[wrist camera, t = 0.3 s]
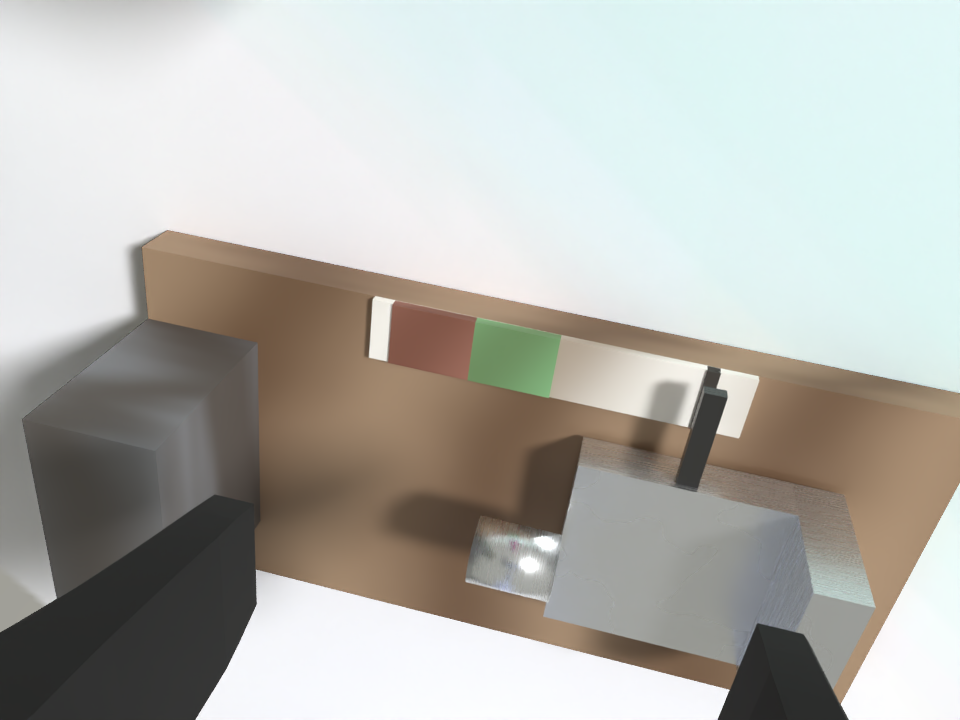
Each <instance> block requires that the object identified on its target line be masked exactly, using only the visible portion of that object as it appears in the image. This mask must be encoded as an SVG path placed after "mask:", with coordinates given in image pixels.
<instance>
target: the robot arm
mask: <svg viewBox="0 0 960 720" xmlns="http://www.w3.org/2000/svg"><path fill="white" fill-rule="evenodd" d="M256 604H257V602H256V567H255V531H254V504H253V503H249V502H245V501H240V500H236V499H232V498H228V497H223V496H219V495H213V496H211V497H210V498H208V499H207V500H205V501H204V502H202V503H201V504H199V505H198V506H196V507H195V508H193V509H192V510H190V511H189V512H187V513H186V514H184V515H183V516H182V517H180V518H179V519H177V520H176V521H174V522H173V523H171V524H170V525H169V526H167V527H166V528H164V529H163V530H161V531H160V532H158V533H157V534H155V535H154V536H153V537H151V538H150V539H148V540H147V541H145V542H144V543H142V544H141V545H139V546H138V547H136V548H135V549H134V550H132V551H131V552H129V553H128V554H126V555H125V556H123V557H122V558H120V559H118V560H117V561H115V562H114V563H112V564H111V565H109V566H108V567H106V568H105V569H103V570H102V571H100V572H99V573H97V574H96V575H94V576H93V577H91V578H90V579H88V580H86V581H85V582H83V583H82V584H80V585H79V586H77V587H76V588H74V589H72V590H71V591H69V592H68V593H66V594H64V595H63V596H61V597H59V598H58V599H56V600H54V601H53V602H51V603H49V604H48V605H46V606H44V607H43V608H41V609H39V610H38V611H36V612H34V613H33V614H31V615H29V616H28V617H26V618H24V619H23V620H21V621H20V622H18V623H16V624H14V625H12V626H11V627H9V628H7V629H6V630H4V631H2V632H0V720H195V719H196V718H197V716H198V714H199V713H200V711H201V709H202V708H203V706H204V705H205V703H206V701H207V700H208V698H209V696H210V695H211V693H212V692H213V690H214V688H215V687H216V685H217V683H218V682H219V680H220V678H221V677H222V675H223V673H224V672H225V670H226V669H227V667H228V664H229V662H230V660H231V658H232V656H233V654H234V652H235V650H236V648H237V646H238V644H239V642H240V640H241V637H242V635H243V633H244V631H245V629H246V626H247V624H248V622H249V620H250V618H251V615H252V613H253V611H254V609H255V607H256ZM718 720H848V718H847V716H846V714H845V712H844V710H843V708H842V706H841V704H840V702H839V701H838V699H837V697H836V695H835V693H834V691H833V689H832V687H831V685H830V683H829V681H828V679H827V677H826V675H825V673H824V671H823V669H822V667H821V665H820V663H819V661H818V659H817V657H816V655H815V653H814V651H813V649H812V647H811V645H810V643H809V642H808V640H807V638H806V637H805V635H804V634H802V633H797V632H793V631H789V630H785V629H780V628H776V627H772V626H768V625H764V624H759V623H757V625H756V627H755V630H754V632H753V634H752V637H751V639H750V642H749V644H748V647H747V649H746V652H745V654H744V656H743V659H742V661H741V664H740V666H739V669H738V671H737V674H736V676H735V679H734V681H733V683H732V686H731V688H730V691H729V693H728V696H727V698H726V701H725V703H724V705H723V708H722V710H721V713H720V715H719V718H718Z"/></svg>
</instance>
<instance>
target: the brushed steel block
mask: <svg viewBox="0 0 960 720" xmlns="http://www.w3.org/2000/svg"><path fill="white" fill-rule="evenodd" d="M727 399H728V394H727V391H726V390H721V389H717V388H712V387H707V386H704V387H703V390H702V394H701V397H700V400H699V403H698V406H697V410H696V413H695V416H694V419H693V422H692V426H691V429H690V432H689V435H688V439H687V442H686V445H685V448H684V451H683V455H682V458H677V457H673V456H668V455H664V454H659V453H655V452H650V451H646V450H641V449H637V448H632V447H628V446H623V445H619V444H614V443H610V442H605V441H601V440H596V439H592V438H587V437H583V440H582V445H581V449H580V453H579V458H578V462H577V466H576V471H575V475H574V479H573V484H572V488H571V492H570V497H569V501H568V505H567V509H566V514H565V518H564V522H563V527H562V531H561V534H556V533H552V532H548V531H544V530H540V529H535V528H531V527H527V526H523V525H519V524H514V523H510V522H506V521H502V520H498V519H493V518H489V517H485V516H480V519H479V521H478V525H477V528H476V531H475V535H474V539H473V543H472V547H471V551H470V556H469V561H468V566H467V572H466V582H468V583H472V584H476V585H480V586H484V587H488V588H492V589H496V590H500V591H504V592H508V593H512V594H516V595H520V596H524V597H528V598H532V599H536V600H540V601H544V602H546V604H545V609H544V615H543V617H547V618H551V619H555V620H559V621H563V622H567V623H571V624H575V625H579V626H583V627H587V628H591V629H595V630H599V631H603V632H607V633H611V634H615V635H619V636H623V637H627V638H631V639H635V640H639V641H643V642H647V643H651V644H655V645H659V646H663V647H667V648H671V649H675V650H679V651H683V652H687V653H691V654H695V655H699V656H703V657H707V658H711V659H715V660H719V661H723V662H727V663H731V664H735V665H736V672H737V671H738V669H739V666H740V664H741V661H742V659H743V656H744V654H745V652H746V649H747V647H748V644H749V642H750V639H751V637H752V634H753V632H754V630H755V627H756V625H757V623H759V624H764V625H768V626H772V627H776V628H780V629H785V630H789V631H793V632H797V633H802V634H804V635H805V637H806V638H807V640H808V642H809V643H810V645H811V647H812V649H813V651H814V653H815V655H816V657H817V659H818V661H819V663H820V665H821V667H822V669H823V671H824V673H825V675H826V677H827V679H828V681H829V683H830V685H831V687H832V689H834V687H835V685H836V683H837V681H838V679H839V677H840V675H841V673H842V671H843V669H844V668H845V666H846V664H847V662H848V660H849V658H850V656H851V654H852V652H853V650H854V648H855V647H856V645H857V643H858V641H859V639H860V637H861V635H862V633H863V631H864V629H865V627H866V625H867V624H868V622H869V620H870V618H871V616H872V614H873V612H874V610H875V608H876V607H875V603H874V600H873V596H872V593H871V589H870V585H869V582H868V578H867V575H866V571H865V567H864V564H863V560H862V557H861V553H860V549H859V546H858V542H857V538H856V535H855V531H854V528H853V524H852V520H851V517H850V513H849V510H848V506H847V502H846V499H845V495H843V494H838V493H834V492H829V491H825V490H820V489H816V488H812V487H807V486H803V485H798V484H794V483H789V482H785V481H780V480H776V479H771V478H767V477H762V476H758V475H753V474H749V473H744V472H740V471H735V470H731V469H726V468H722V467H717V466H713V465H708V464H706V462H707V459H708V456H709V453H710V450H711V447H712V444H713V441H714V438H715V435H716V432H717V429H718V426H719V423H720V420H721V417H722V414H723V411H724V408H725V405H726V402H727Z"/></svg>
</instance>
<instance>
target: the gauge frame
mask: <svg viewBox="0 0 960 720" xmlns="http://www.w3.org/2000/svg"><path fill="white" fill-rule="evenodd" d="M142 256H143V267H144V278H145V288H146V299H147V310H148V319H147V320H146V321H145V322H143V323H142V324H141V325H140V326H138V327H137V328H136V329H135V330H133V331H132V332H131V333H130V334H128V335H127V336H126V337H125V338H123V339H122V340H121V341H120V342H118V343H117V344H116V345H114V346H113V347H112V348H111V349H109V350H108V351H107V352H106V353H104V354H103V355H102V356H101V357H99V358H98V359H97V360H96V361H94V362H93V363H92V364H91V365H89V366H88V367H87V368H86V369H84V370H83V371H82V372H81V373H79V374H78V375H77V376H76V377H74V378H73V379H72V380H71V381H69V382H68V383H67V384H66V385H64V386H63V387H62V388H61V389H59V390H58V391H57V392H56V393H54V394H53V395H52V396H50V397H49V398H48V399H47V400H45V401H44V402H43V403H42V404H40V405H39V406H38V407H37V408H35V409H34V410H33V411H32V412H30V413H29V414H28V415H27V416H25V417H24V418H23V419H22V421H23V426H24V431H25V437H26V442H27V447H28V452H29V457H30V462H31V467H32V473H33V478H34V483H35V488H36V493H37V498H38V504H39V509H40V514H41V519H42V524H43V529H44V535H45V540H46V545H47V550H48V555H49V560H50V565H51V571H52V576H53V581H54V586H55V591H56V596H57V599H58V598H59V597H61V596H63V595H64V594H66V593H68V592H69V591H71V590H72V589H74V588H76V587H77V586H79V585H80V584H82V583H83V582H85V581H86V580H88V579H90V578H91V577H93V576H94V575H96V574H97V573H99V572H100V571H102V570H103V569H105V568H106V567H108V566H109V565H111V564H112V563H114V562H115V561H117V560H118V559H120V558H122V557H123V556H125V555H126V554H128V553H129V552H131V551H132V550H134V549H135V548H136V547H138V546H139V545H141V544H142V543H144V542H145V541H147V540H148V539H150V538H151V537H153V536H154V535H155V534H157V533H158V532H160V531H161V530H163V529H164V528H166V527H167V526H169V525H170V524H171V523H173V522H174V521H176V520H177V519H179V518H180V517H182V516H183V515H184V514H186V513H187V512H189V511H190V510H192V509H193V508H195V507H196V506H198V505H199V504H201V503H202V502H204V501H205V500H207V499H208V498H210V497H211V496H213V495H219V496H223V497H228V498H232V499H236V500H240V501H245V502H249V503H253V504H254V531H255V567H256V569H257V570H261V571H264V572H268V573H272V574H276V575H280V576H284V577H288V578H292V579H296V580H300V581H304V582H308V583H312V584H316V585H320V586H324V587H328V588H331V589H335V590H339V591H343V592H347V593H351V594H355V595H359V596H363V597H367V598H371V599H375V600H379V601H383V602H387V603H391V604H395V605H398V606H402V607H406V608H410V609H414V610H418V611H422V612H426V613H430V614H434V615H438V616H442V617H446V618H450V619H454V620H458V621H461V622H465V623H469V624H473V625H477V626H481V627H485V628H489V629H493V630H497V631H501V632H505V633H509V634H513V635H517V636H521V637H525V638H528V639H532V640H536V641H540V642H544V643H548V644H552V645H556V646H560V647H564V648H568V649H572V650H576V651H580V652H584V653H588V654H591V655H595V656H599V657H603V658H607V659H611V660H615V661H619V662H623V663H627V664H631V665H635V666H639V667H643V668H647V669H651V670H655V671H658V672H662V673H666V674H670V675H674V676H678V677H682V678H686V679H690V680H694V681H698V682H702V683H706V684H710V685H714V686H718V687H721V688H725V689H729V690H730V688H731V686H732V683H733V681H734V679H735V676H736V674H737V672H736V665H735V664H731V663H727V662H723V661H719V660H715V659H711V658H707V657H703V656H699V655H695V654H691V653H687V652H683V651H679V650H675V649H671V648H667V647H663V646H659V645H655V644H651V643H647V642H643V641H639V640H635V639H631V638H627V637H623V636H619V635H615V634H611V633H607V632H603V631H599V630H595V629H591V628H587V627H583V626H579V625H575V624H571V623H567V622H563V621H559V620H555V619H551V618H547V617H543V615H544V609H545V604H546V602H544V601H540V600H536V599H532V598H528V597H524V596H520V595H516V594H512V593H508V592H504V591H500V590H496V589H492V588H488V587H484V586H480V585H476V584H472V583H468V582H466V572H467V566H468V561H469V556H470V551H471V547H472V543H473V539H474V535H475V531H476V528H477V525H478V521H479V519H480V516H485V517H489V518H493V519H498V520H502V521H506V522H510V523H514V524H519V525H523V526H527V527H531V528H535V529H540V530H544V531H548V532H552V533H556V534H561V531H562V527H563V522H564V518H565V514H566V509H567V505H568V501H569V497H570V492H571V488H572V484H573V479H574V475H575V471H576V466H577V462H578V458H579V453H580V449H581V445H582V440H583V437H587V438H592V439H596V440H601V441H605V442H610V443H614V444H619V445H623V446H628V447H632V448H637V449H641V450H646V451H650V452H655V453H659V454H664V455H668V456H673V457H677V458H682V455H683V451H684V448H685V445H686V442H687V439H688V435H689V432H690V429H691V426H692V422H693V419H694V416H695V413H696V410H697V406H698V403H699V400H700V397H701V394H702V390H703V387H704V386H707V387H712V388H717V389H721V390H726V391H727V394H728V399H727V402H726V405H725V408H724V411H723V414H722V417H721V420H720V423H719V426H718V429H717V432H716V435H715V438H714V441H713V444H712V447H711V450H710V453H709V456H708V459H707V462H706V464H708V465H713V466H717V467H722V468H726V469H731V470H735V471H740V472H744V473H749V474H753V475H758V476H762V477H767V478H771V479H776V480H780V481H785V482H789V483H794V484H798V485H803V486H807V487H812V488H816V489H820V490H825V491H829V492H834V493H838V494H843V495H845V499H846V502H847V506H848V510H849V513H850V517H851V520H852V524H853V528H854V531H855V535H856V538H857V542H858V546H859V549H860V553H861V557H862V560H863V564H864V567H865V571H866V575H867V578H868V582H869V585H870V589H871V593H872V596H873V600H874V603H875V607H876V608H875V610H874V612H873V614H872V616H871V618H870V620H869V622H868V624H867V625H866V627H865V629H864V631H863V633H862V635H861V637H860V639H859V641H858V643H857V645H856V647H855V648H854V650H853V652H852V654H851V656H850V658H849V660H848V662H847V664H846V666H845V668H844V669H843V671H842V673H841V675H840V677H839V679H838V681H837V683H836V685H835V687H834V689H833V691H834V693H835V695H836V697H837V699H838V701H839V702H840V704H841V702H842V701H843V699H844V697H845V695H846V693H847V691H848V689H849V688H850V686H851V684H852V682H853V680H854V678H855V676H856V675H857V673H858V671H859V669H860V667H861V665H862V663H863V662H864V660H865V658H866V656H867V654H868V652H869V650H870V649H871V647H872V645H873V643H874V641H875V639H876V637H877V635H878V634H879V632H880V630H881V628H882V626H883V624H884V622H885V621H886V619H887V617H888V615H889V613H890V611H891V609H892V608H893V606H894V604H895V602H896V600H897V598H898V596H899V595H900V593H901V591H902V589H903V587H904V585H905V583H906V582H907V580H908V578H909V576H910V574H911V572H912V570H913V569H914V567H915V565H916V563H917V561H918V559H919V557H920V556H921V554H922V552H923V550H924V548H925V546H926V544H927V542H928V541H929V539H930V537H931V535H932V533H933V531H934V529H935V528H936V526H937V524H938V522H939V520H940V518H941V516H942V515H943V513H944V511H945V509H946V507H947V505H948V503H949V502H950V500H951V498H952V496H953V494H954V492H955V490H956V489H957V487H958V485H959V483H960V393H955V392H950V391H946V390H941V389H936V388H931V387H926V386H921V385H917V384H912V383H907V382H902V381H897V380H892V379H887V378H883V377H878V376H873V375H868V374H863V373H858V372H853V371H849V370H844V369H839V368H834V367H829V366H824V365H819V364H815V363H810V362H805V361H800V360H795V359H790V358H785V357H781V356H776V355H771V354H766V353H761V352H756V351H751V350H747V349H742V348H737V347H732V346H727V345H722V344H717V343H713V342H708V341H703V340H698V339H693V338H688V337H683V336H679V335H674V334H669V333H664V332H659V331H654V330H649V329H645V328H640V327H635V326H630V325H625V324H620V323H615V322H611V321H606V320H601V319H596V318H591V317H586V316H582V315H577V314H572V313H567V312H562V311H557V310H552V309H548V308H543V307H538V306H533V305H528V304H523V303H518V302H514V301H509V300H504V299H499V298H494V297H489V296H484V295H480V294H475V293H470V292H465V291H460V290H455V289H450V288H446V287H441V286H436V285H431V284H426V283H421V282H416V281H412V280H407V279H402V278H397V277H392V276H387V275H382V274H378V273H373V272H368V271H363V270H358V269H353V268H348V267H344V266H339V265H334V264H329V263H324V262H319V261H314V260H310V259H305V258H300V257H295V256H290V255H285V254H281V253H276V252H271V251H266V250H261V249H256V248H251V247H247V246H242V245H237V244H232V243H227V242H222V241H217V240H213V239H208V238H203V237H198V236H193V235H188V234H183V233H179V232H174V231H169V230H167V231H166V232H164V233H162V234H161V235H159V236H158V237H156V238H155V239H153V240H152V241H150V242H149V243H147V244H146V245H144V246H143V247H142Z"/></svg>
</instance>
